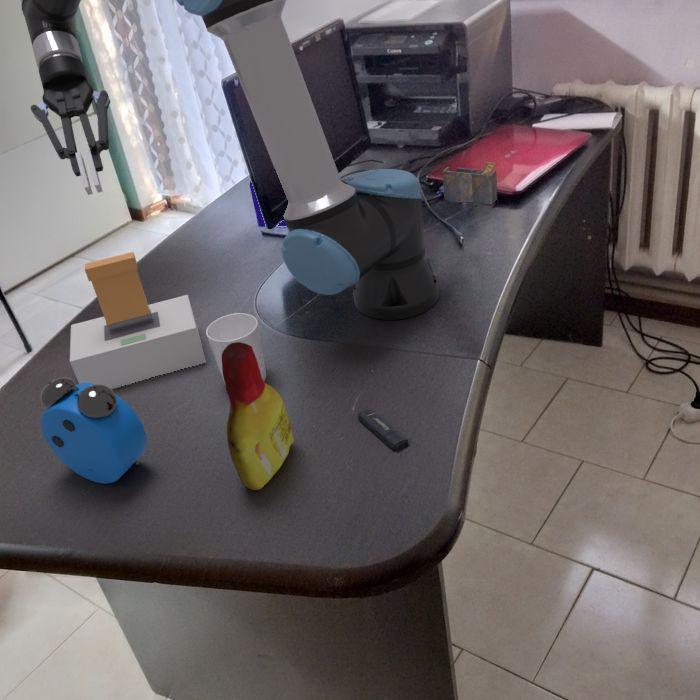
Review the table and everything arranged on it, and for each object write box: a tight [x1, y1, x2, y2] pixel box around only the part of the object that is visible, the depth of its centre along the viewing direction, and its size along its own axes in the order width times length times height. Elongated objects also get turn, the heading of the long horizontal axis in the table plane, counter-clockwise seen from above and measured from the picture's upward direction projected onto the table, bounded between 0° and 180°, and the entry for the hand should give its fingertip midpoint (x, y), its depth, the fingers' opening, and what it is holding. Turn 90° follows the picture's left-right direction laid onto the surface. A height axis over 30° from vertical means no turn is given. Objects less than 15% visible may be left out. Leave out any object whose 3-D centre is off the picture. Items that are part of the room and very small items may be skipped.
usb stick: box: [357, 408, 409, 452], centre depth 101 cm, size 10×3×2 cm, turn 33°
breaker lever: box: [84, 251, 153, 331], centre depth 118 cm, size 3×8×11 cm, turn 107°
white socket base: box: [69, 294, 207, 390], centre depth 123 cm, size 12×20×7 cm, turn 107°
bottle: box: [222, 342, 295, 491], centre depth 93 cm, size 12×6×20 cm, turn 161°
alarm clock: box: [39, 377, 148, 484], centre depth 98 cm, size 13×6×15 cm, turn 65°
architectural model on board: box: [442, 160, 498, 204], centre depth 158 cm, size 11×3×10 cm, turn 57°
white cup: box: [205, 312, 267, 387], centre depth 113 cm, size 8×8×10 cm
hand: (93, 189), depth 122 cm, fingers closed
